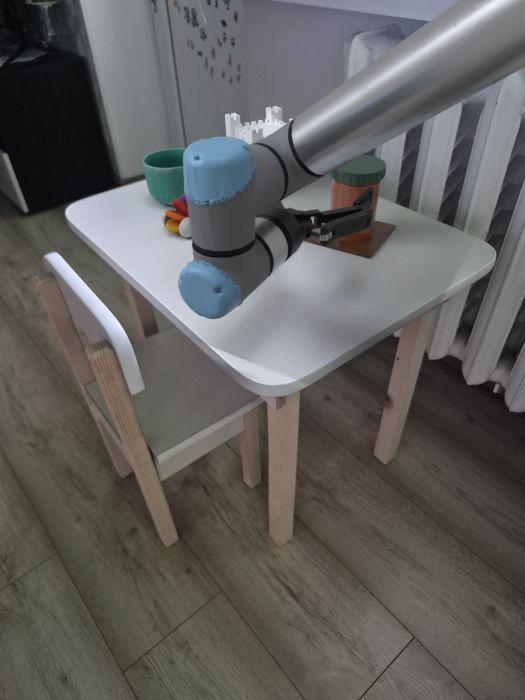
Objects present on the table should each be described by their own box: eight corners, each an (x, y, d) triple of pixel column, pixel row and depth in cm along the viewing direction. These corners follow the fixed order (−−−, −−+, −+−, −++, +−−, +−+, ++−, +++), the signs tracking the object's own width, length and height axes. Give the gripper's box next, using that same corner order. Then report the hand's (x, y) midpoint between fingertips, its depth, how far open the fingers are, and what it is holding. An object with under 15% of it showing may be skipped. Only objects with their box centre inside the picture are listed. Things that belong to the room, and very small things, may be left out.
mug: (158, 215, 104) (150, 172, 97) (144, 194, 112) (136, 153, 106) (229, 201, 109) (226, 158, 102) (210, 182, 117) (206, 141, 111)
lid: (372, 188, 83) (373, 178, 81) (320, 177, 87) (321, 167, 85) (393, 170, 89) (394, 159, 88) (343, 160, 93) (344, 150, 92)
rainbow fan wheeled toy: (156, 230, 98) (150, 196, 94) (193, 214, 104) (189, 182, 99) (183, 244, 94) (178, 209, 89) (219, 226, 99) (216, 193, 94)
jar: (379, 227, 96) (389, 164, 88) (362, 246, 91) (371, 181, 83) (339, 218, 100) (345, 156, 92) (320, 235, 94) (325, 171, 86)
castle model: (253, 200, 109) (251, 131, 99) (227, 179, 118) (222, 114, 108) (306, 187, 114) (309, 120, 104) (277, 168, 123) (277, 105, 113)
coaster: (395, 228, 97) (396, 225, 97) (370, 258, 88) (370, 255, 88) (332, 213, 103) (333, 210, 103) (302, 240, 94) (303, 238, 94)
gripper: (197, 245, 73) (267, 195, 87) (347, 289, 63) (400, 225, 77) (191, 198, 69) (266, 153, 82) (353, 238, 58) (409, 179, 72)
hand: (331, 187), depth 80 cm, fingers open, 13 cm apart
